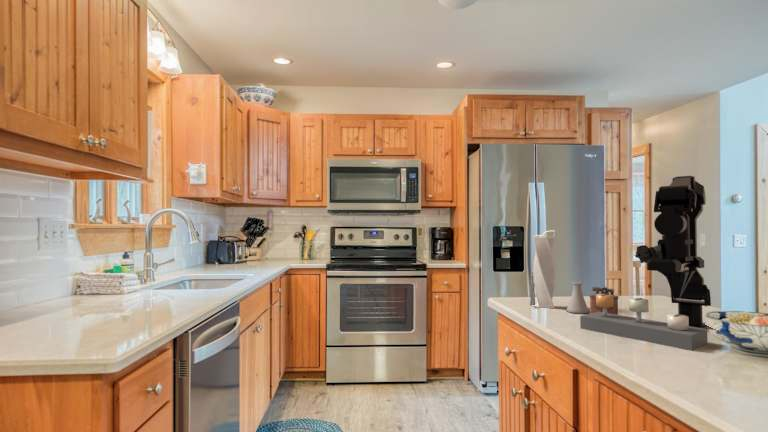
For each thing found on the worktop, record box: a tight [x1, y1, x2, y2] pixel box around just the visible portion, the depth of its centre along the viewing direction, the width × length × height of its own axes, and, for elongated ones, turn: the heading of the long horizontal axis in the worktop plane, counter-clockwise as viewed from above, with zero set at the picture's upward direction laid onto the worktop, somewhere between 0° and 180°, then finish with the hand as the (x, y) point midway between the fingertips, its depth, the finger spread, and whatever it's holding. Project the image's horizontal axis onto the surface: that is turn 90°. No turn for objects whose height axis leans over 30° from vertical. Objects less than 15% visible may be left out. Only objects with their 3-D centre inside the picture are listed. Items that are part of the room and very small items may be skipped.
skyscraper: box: [529, 229, 556, 310], centre depth 152 cm, size 8×8×28 cm
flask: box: [566, 281, 590, 314], centre depth 143 cm, size 7×7×10 cm
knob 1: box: [595, 293, 614, 317], centre depth 119 cm, size 4×4×7 cm
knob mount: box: [579, 312, 709, 351], centre depth 112 cm, size 10×27×4 cm, turn 35°
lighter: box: [589, 286, 619, 315], centre depth 132 cm, size 8×3×10 cm, turn 58°
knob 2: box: [666, 313, 689, 330], centre depth 105 cm, size 4×4×7 cm
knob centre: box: [628, 297, 650, 323], centre depth 112 cm, size 4×4×7 cm
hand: (677, 298), depth 105 cm, fingers closed
